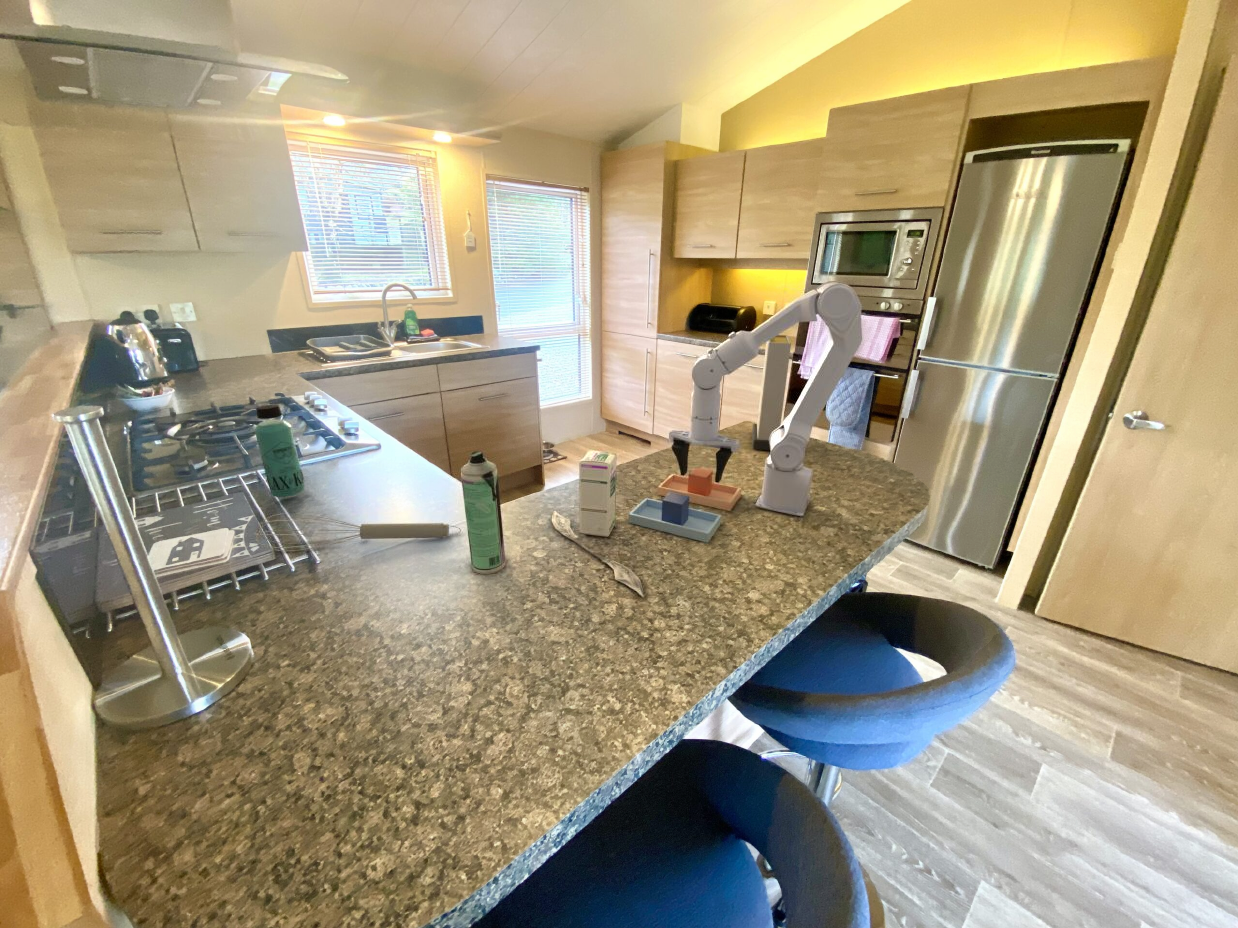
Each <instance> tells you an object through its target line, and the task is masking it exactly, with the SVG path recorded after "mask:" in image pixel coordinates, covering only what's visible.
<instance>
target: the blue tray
mask: <svg viewBox="0 0 1238 928" xmlns="http://www.w3.org/2000/svg"><path fill="white" fill-rule="evenodd" d="M722 516H723V515H722V514H720V513H719V514H718V513H713V512H709V511H706V510H701V509H696V508H692V507H689V513H688V520H687V521H686V522H685V524H684V525H683V526H681V525H677V524H673V523H669V522H664V521H661V518H662V500H657V499H654V498H648V497H645V498H644V499H643V500H642V501H641V502H640V503H638V505H636V506H635V507H634V508H633V509H632V510H631V511H630V512H628V523H629V524H633V525H636V526H639V527H645V528H648V529H653V530H655V531H660V532H664V533H667V534H668V533H669V534H672V535H675V536H680V537H685V538H688V539H692V540H695V541H699V542H702V543H707V544H708V543H709V542H710V541H711V539H712V537H713V536H714V534H716V532H717V530H718V529H719V527H720V526H721V524H722Z"/></svg>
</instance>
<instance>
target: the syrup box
mask: <svg viewBox="0 0 1238 928" xmlns="http://www.w3.org/2000/svg"><path fill="white" fill-rule="evenodd" d="M617 464H618V455H617V453H615V452H611V451H610V452H609V451H602V450H587V452H586V453H585V455H583V456H582V457H581V459H580V460H579V462H578V466H579V467H578V468H579V469H578V471H579V472H578V473H579V474H578V484H579V485H578V492H579V493H578V495H579V496H578V499H579V500H578V501H579V502H578V504H579V505H578V507H579V508H578V509H579V510H578V511H579V513H578V515H579V516H578V517H579V519H578V521H579V523H578V525H579V527H578V529H579V530H578V531H579V533H580V534H586V535H591V536H599V537H606V538H607V537H609V536H610V534H611V532H612V530H613V528H614V527H615V524H616V511H617V508H616V507H617V468H618V467H617V466H618V465H617Z"/></svg>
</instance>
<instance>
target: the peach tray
mask: <svg viewBox="0 0 1238 928" xmlns="http://www.w3.org/2000/svg"><path fill="white" fill-rule="evenodd" d="M687 491H688V476H685V475H684V476H681V474H680V475H679V474H675V473H671V474H670V475H669V476H668V477H666V479H665V480H664V481H663V482H661V483H660V484H659V485H658V486H657V495H658V496H662V497H664V498H665V497H666V496H667V495H668V494H669V493H670V492H672V493H677V494H681V495H686V496H690V498H689V503H692V504H697V505H701V506H705V507H711V508H713V509H718V510H724V511H728V512H731V510H732V509H733V507H735V505H736V503H737V502H738V500H739V499H740V497H741V496H742V487H738V486H734V485H728V484H724V483H720V482H719V483H717V482H715V481H712V486H711V493H710V494H709V495H708V496H702V495H698V494H693V493H688V492H687Z"/></svg>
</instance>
